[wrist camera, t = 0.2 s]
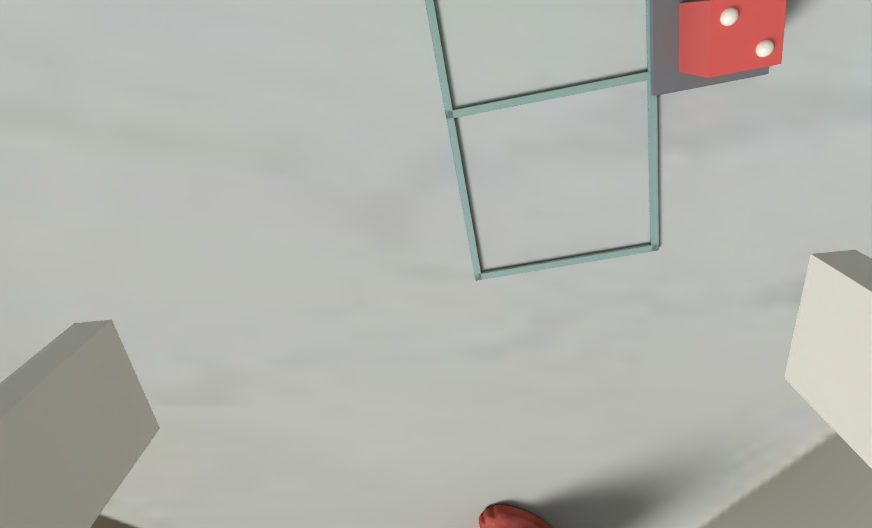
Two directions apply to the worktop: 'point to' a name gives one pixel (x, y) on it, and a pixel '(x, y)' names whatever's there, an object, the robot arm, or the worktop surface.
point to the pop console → (713, 41)
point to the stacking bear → (509, 518)
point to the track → (535, 98)
